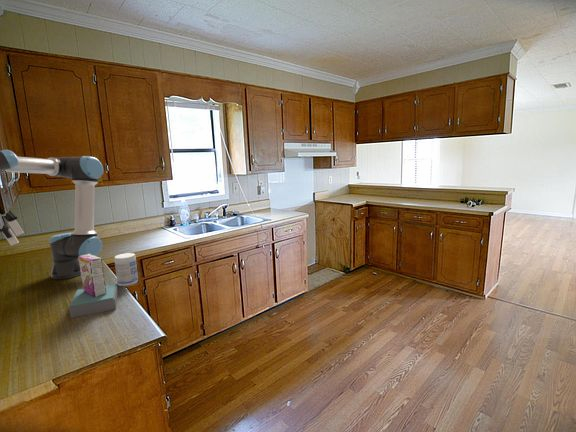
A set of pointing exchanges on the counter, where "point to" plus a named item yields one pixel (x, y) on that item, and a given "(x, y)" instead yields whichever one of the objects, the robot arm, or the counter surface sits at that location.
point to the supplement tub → (126, 269)
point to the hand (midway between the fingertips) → (17, 239)
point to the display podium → (93, 302)
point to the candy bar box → (92, 275)
